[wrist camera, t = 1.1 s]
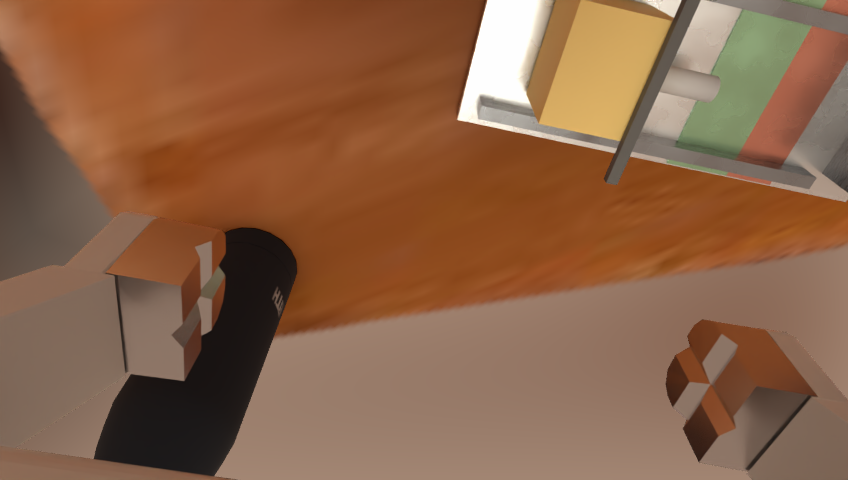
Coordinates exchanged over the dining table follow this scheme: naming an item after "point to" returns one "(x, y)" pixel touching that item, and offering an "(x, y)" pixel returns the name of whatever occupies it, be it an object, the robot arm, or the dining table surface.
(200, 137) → the dining table surface
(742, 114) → the track
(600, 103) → the block
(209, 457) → the wine bottle
